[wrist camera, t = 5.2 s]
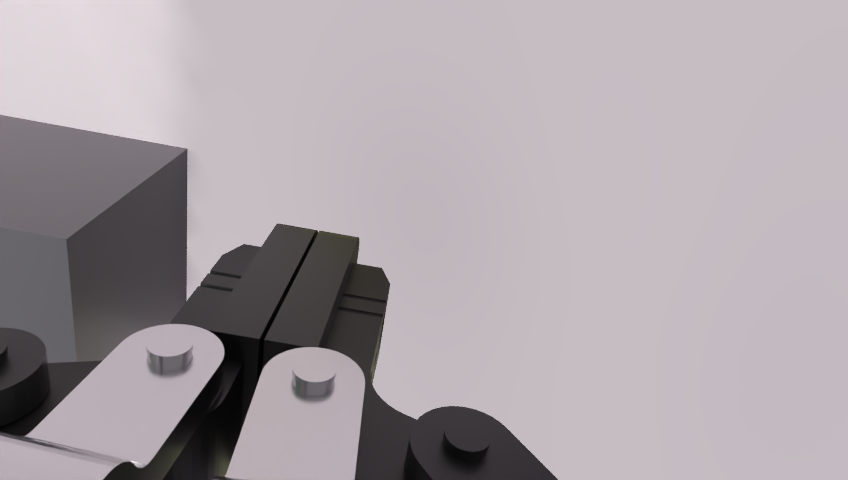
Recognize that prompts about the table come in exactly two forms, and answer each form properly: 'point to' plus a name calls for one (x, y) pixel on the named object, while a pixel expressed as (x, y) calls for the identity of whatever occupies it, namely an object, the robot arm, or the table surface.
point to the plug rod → (89, 236)
